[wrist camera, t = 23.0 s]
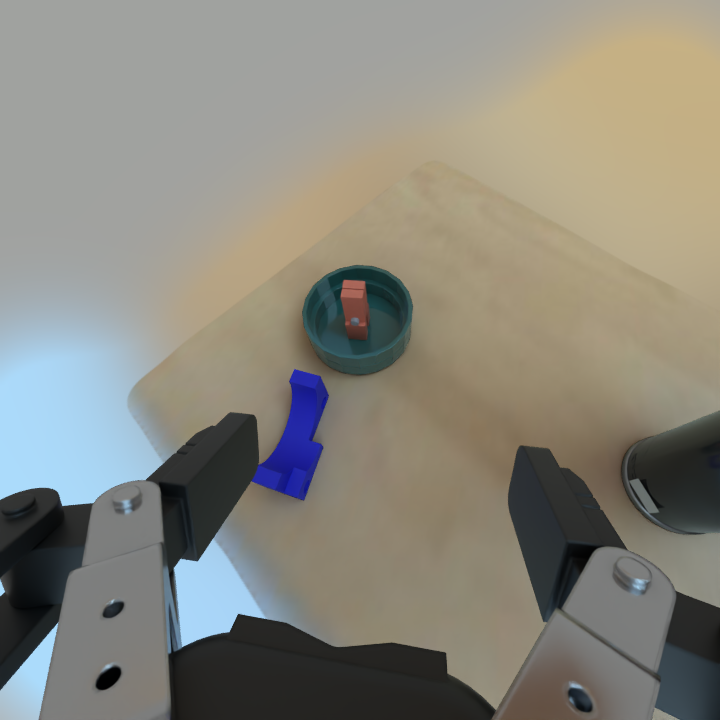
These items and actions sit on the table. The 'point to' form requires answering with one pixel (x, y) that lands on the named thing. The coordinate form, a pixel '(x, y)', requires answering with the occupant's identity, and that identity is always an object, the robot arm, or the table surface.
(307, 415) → the cable clip
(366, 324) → the clothespin
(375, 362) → the bowl
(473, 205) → the table surface
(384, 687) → the robot arm
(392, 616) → the table surface
